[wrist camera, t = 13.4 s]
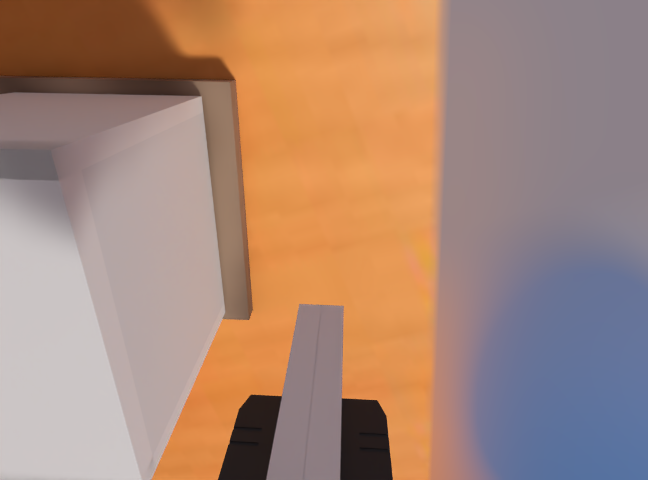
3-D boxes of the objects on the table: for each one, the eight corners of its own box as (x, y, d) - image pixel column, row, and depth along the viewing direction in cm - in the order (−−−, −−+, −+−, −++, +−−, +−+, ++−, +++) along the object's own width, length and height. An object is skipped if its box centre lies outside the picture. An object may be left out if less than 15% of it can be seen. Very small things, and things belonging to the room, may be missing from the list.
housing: (77, 306, 27) (-99, 480, 16) (13, 92, 21) (-326, 140, 11) (225, 312, 27) (145, 493, 16) (201, 95, 21) (50, 150, 10)
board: (-79, 297, 29) (-110, 315, 27) (-189, 72, 23) (-240, 74, 21) (252, 309, 29) (245, 329, 27) (235, 80, 22) (224, 83, 20)
